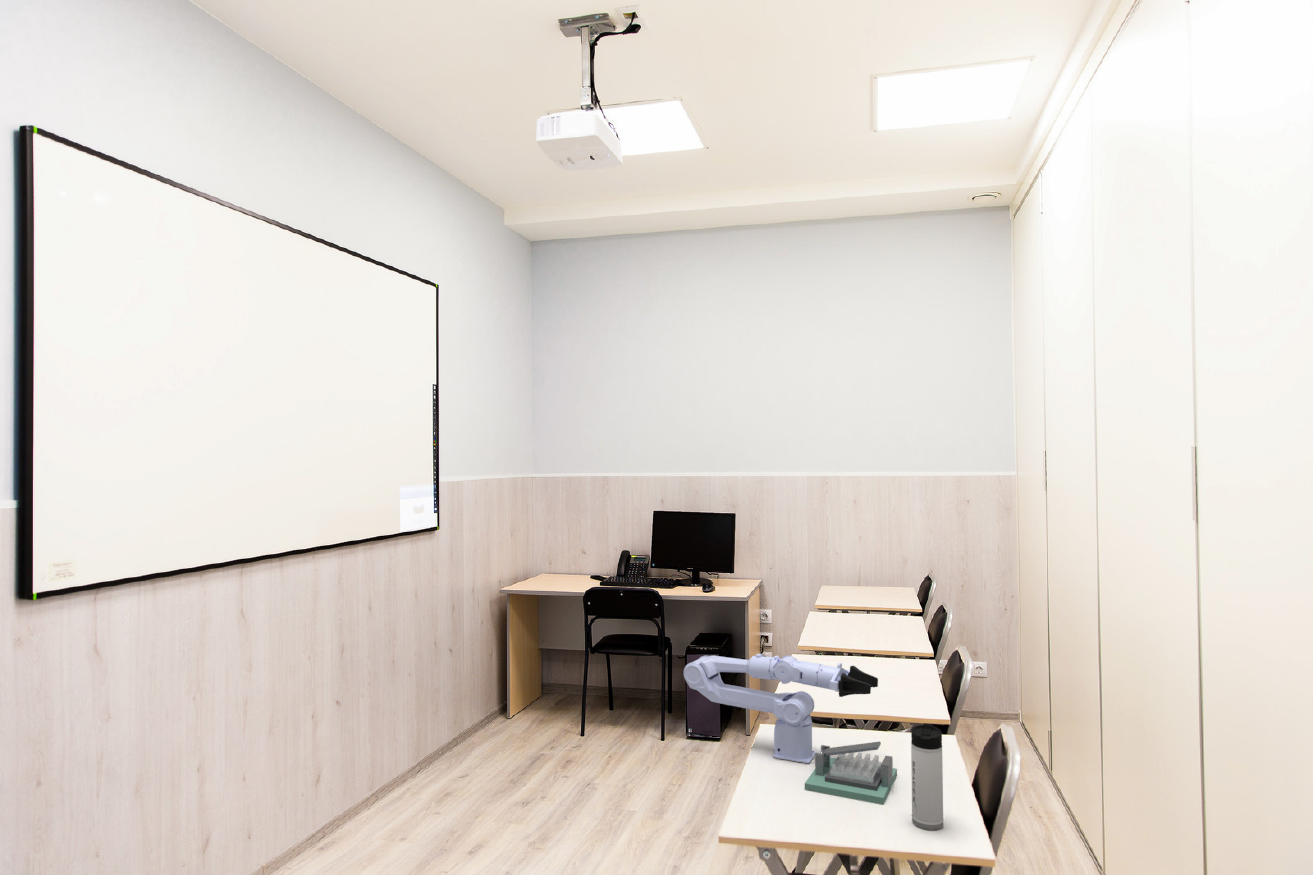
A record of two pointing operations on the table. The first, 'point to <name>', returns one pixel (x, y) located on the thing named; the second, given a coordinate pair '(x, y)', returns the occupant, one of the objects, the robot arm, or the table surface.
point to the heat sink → (856, 767)
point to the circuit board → (849, 786)
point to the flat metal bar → (850, 748)
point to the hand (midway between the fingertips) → (874, 686)
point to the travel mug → (927, 777)
